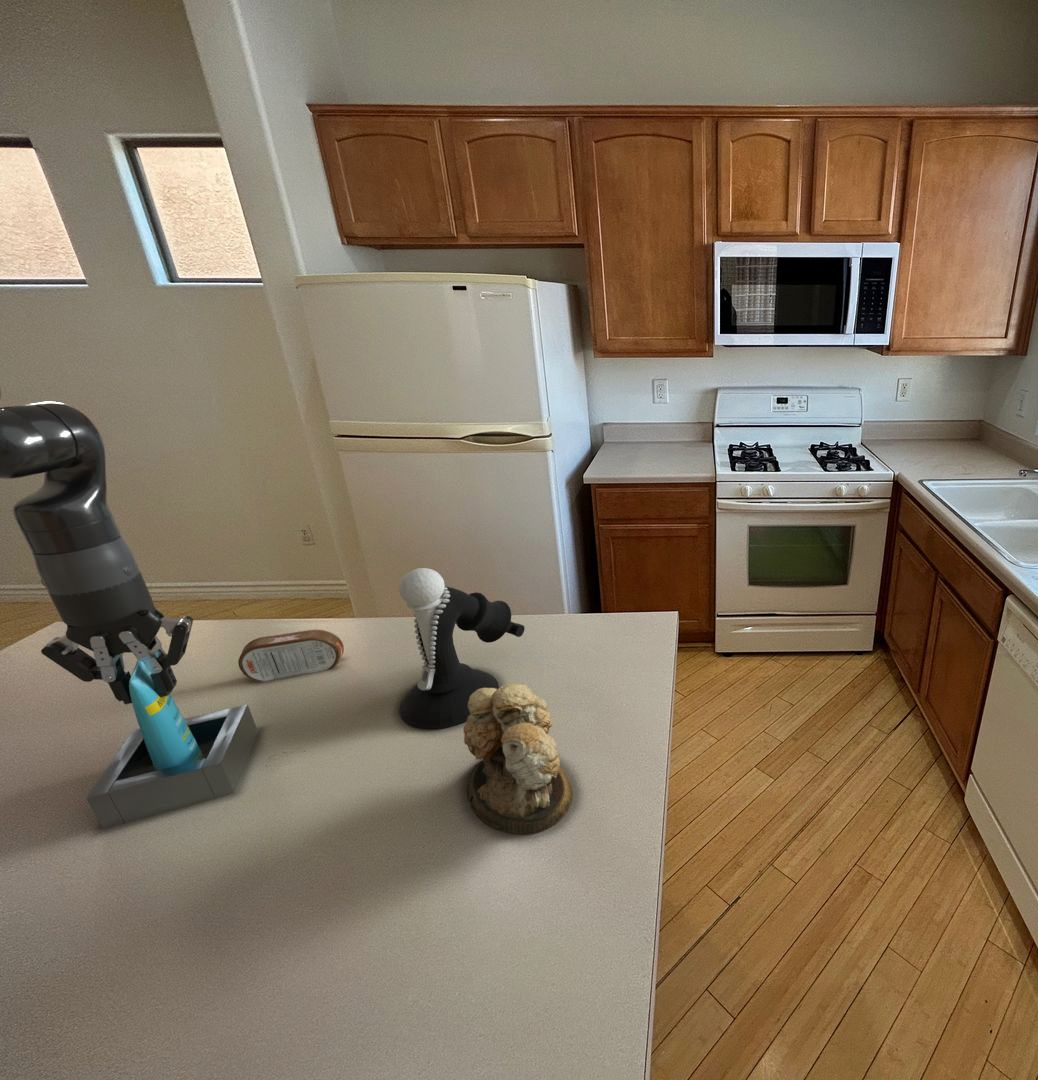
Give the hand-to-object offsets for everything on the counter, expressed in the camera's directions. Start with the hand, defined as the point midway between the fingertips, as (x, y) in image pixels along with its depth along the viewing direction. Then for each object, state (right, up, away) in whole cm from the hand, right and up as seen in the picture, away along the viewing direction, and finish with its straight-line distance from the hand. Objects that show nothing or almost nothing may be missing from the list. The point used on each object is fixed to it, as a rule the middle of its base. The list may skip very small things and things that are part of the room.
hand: (149, 695), depth 72 cm
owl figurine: (+46, -15, +4) cm, 49 cm away
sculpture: (+31, -6, +25) cm, 40 cm away
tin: (-2, -4, +28) cm, 28 cm away
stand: (0, -13, +6) cm, 15 cm away
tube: (0, -13, +5) cm, 14 cm away
